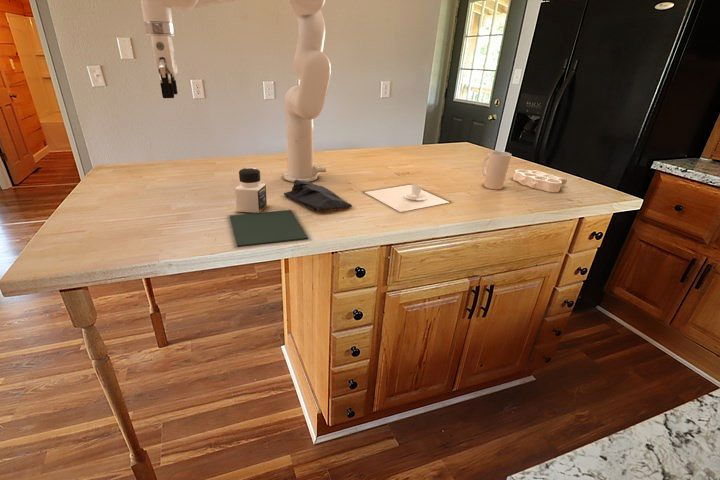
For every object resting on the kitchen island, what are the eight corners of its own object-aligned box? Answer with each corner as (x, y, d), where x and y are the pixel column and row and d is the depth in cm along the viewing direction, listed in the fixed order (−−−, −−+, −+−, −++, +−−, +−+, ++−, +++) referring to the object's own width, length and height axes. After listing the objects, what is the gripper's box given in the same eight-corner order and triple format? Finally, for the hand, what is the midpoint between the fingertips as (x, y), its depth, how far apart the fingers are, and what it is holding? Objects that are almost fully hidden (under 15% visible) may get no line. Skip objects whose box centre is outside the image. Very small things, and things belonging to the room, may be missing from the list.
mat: (290, 211, 118) (290, 209, 118) (307, 238, 101) (307, 237, 101) (230, 216, 113) (229, 215, 113) (237, 246, 97) (237, 245, 96)
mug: (507, 188, 140) (516, 154, 134) (493, 190, 138) (502, 156, 132) (485, 180, 148) (493, 148, 142) (472, 182, 146) (479, 150, 140)
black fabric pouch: (312, 217, 114) (312, 201, 111) (281, 194, 130) (280, 180, 128) (356, 208, 120) (357, 193, 118) (321, 188, 137) (321, 174, 135)
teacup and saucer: (411, 203, 125) (413, 191, 123) (396, 195, 131) (397, 184, 129) (432, 199, 129) (434, 187, 127) (416, 192, 135) (418, 180, 133)
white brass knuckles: (573, 188, 141) (546, 194, 136) (530, 175, 155) (504, 179, 149) (576, 179, 140) (549, 184, 134) (532, 167, 154) (506, 171, 148)
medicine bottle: (259, 213, 114) (256, 172, 109) (236, 211, 116) (232, 171, 110) (267, 206, 121) (265, 166, 115) (245, 204, 122) (242, 165, 117)
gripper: (170, 29, 103) (180, 99, 112) (177, 31, 118) (185, 92, 126) (140, 29, 102) (153, 99, 110) (150, 30, 117) (161, 93, 125)
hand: (170, 96), depth 118 cm, fingers open, 9 cm apart
